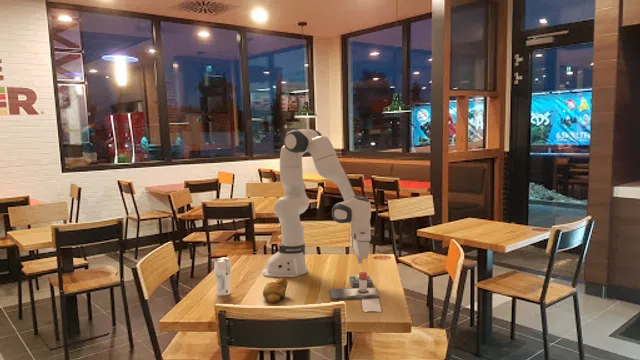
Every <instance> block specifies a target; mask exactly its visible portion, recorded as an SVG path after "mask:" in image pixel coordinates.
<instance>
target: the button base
mask: <svg viewBox="0 0 640 360" xmlns="http://www.w3.org/2000/svg"><path fill="white" fill-rule="evenodd" d="M355 276H356V275H353V276H352V275H351V276H349V284H350V286H351V287H350V288H359V281H358V282H355ZM367 287H374V282H373V280H372V278H371V276H370V275H367Z"/></svg>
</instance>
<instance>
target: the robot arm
mask: <svg viewBox="0 0 640 360" xmlns="http://www.w3.org/2000/svg"><path fill="white" fill-rule="evenodd" d="M305 153H306V154H310V155H311V158H312V161H313V163H314V166H315V169H316V171H317V173H318V175H319V176H320V177H321V178H324V179H327V180H329V181H331V182H333V183H334V184H335V186H337V187H338V190H339V192H340V194H341V196H342V198H343V201H341V202H337V203H335V204H334V205H333V206H332V208H331V217H332V219H333V220H334V221H335V222H336V223H338V224H350V237H351V238H352V248H353V249H354V251H355V253H356V262H357V263H358V264H363V259H367V258H368V257H369V252H370V241H371V240H372V236H371V217H372V207H371V201H370V199H369V198H368V197H366V196H363V195H357V193H356V192H355V190H354V187H353V185H352V182H351V181H350V178H349V177H348V174H347V172H346V171H345V169H344V168H343V166H342V165H341V162H340V161H339V158H338V156H337V152H336V149H335V147H334V145H333V144H332V141H331V140H330V138H329V137H327V136H325V135H322V133H321V132H320V131H318V130H317V129H313V128H311V129H309V128H302V129H300V128H299V129H292V130H289V131H288V132H286V134H285V135H284V137H283V146H282V147H281V148H280V156H279V179H280V180H279V182H280V184H281V186H282V189H283V190H284V196H281V197H280V198H278V200H276V202H275V203H274V206H273V212H274V214H275V215H276V216H277V218H278V220H279V224H280V229H281V230H280V231H281V243H280V242H278V243H277V245H276V247H277V252H276V253H275V252H274V254H273V255H271V257H268V260H267V263H266V266H265V267H264V268H263V269H262V276H264V277H268V278H269V277H270V278H271V277H274V278H275V277H277V278H278V277H279V278H296V277H298V276H301V275H305V274H307V273H308V272H309V271H308V267H307V263H306V256H305V255H306V244H305V228H304V227H303V226H304V225H302V222H301V218H300V215H301V214H303V213H304V212H306V211H307V209H308V208H309V206H310V199H309V197H308V196H307V194H306V190H305V185H304V179H303V177H304V176H303V155H305Z"/></svg>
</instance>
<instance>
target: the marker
mask: <svg viewBox="0 0 640 360" xmlns="http://www.w3.org/2000/svg"><path fill="white" fill-rule="evenodd" d="M358 275H359V292H362V293H365V292H367V276H368V272H366V271H359V273H358Z"/></svg>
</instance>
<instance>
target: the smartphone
mask: <svg viewBox="0 0 640 360" xmlns="http://www.w3.org/2000/svg"><path fill="white" fill-rule="evenodd" d="M360 302H361V304H362V305H361V311H362V310H363V312H362V313H378V312H380V313H383V307H382V304H381V300H380V298H376V299H360ZM364 311H366V312H364Z"/></svg>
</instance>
